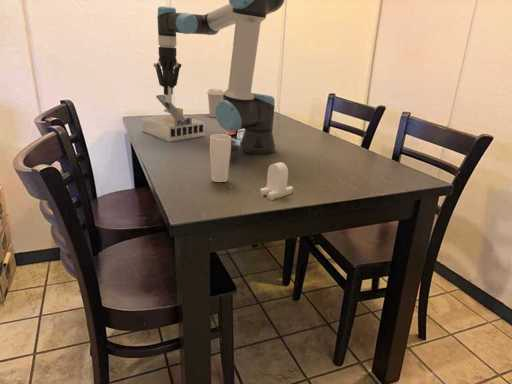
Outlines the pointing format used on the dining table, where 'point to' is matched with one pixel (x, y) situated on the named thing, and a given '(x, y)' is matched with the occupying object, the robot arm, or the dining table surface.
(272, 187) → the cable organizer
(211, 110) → the coffee cup
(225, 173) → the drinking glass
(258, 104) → the robot arm
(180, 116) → the strap
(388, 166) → the dining table surface
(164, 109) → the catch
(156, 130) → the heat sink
